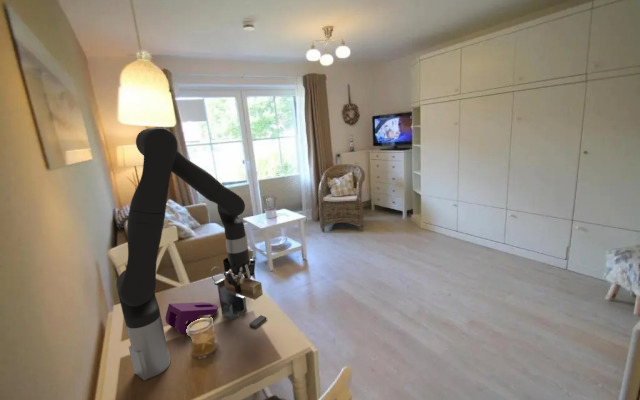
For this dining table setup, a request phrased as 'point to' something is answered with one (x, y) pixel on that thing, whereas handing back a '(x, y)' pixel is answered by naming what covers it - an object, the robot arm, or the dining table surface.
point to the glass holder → (226, 267)
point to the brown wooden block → (247, 287)
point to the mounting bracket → (187, 314)
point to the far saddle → (258, 321)
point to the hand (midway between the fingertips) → (243, 290)
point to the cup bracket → (230, 301)
